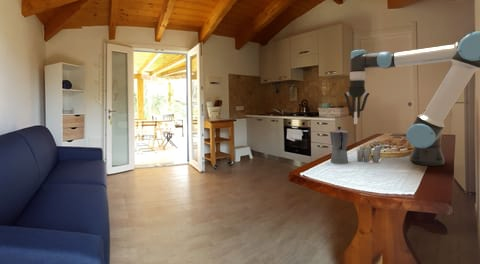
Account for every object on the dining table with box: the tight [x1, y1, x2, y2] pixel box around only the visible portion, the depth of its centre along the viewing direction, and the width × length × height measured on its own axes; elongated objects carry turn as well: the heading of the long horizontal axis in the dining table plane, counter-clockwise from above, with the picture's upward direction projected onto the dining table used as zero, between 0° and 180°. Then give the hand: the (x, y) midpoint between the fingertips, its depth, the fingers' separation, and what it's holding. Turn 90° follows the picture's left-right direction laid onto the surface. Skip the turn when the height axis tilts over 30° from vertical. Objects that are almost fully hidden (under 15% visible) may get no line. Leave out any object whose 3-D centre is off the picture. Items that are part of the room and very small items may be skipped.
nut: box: [363, 152, 373, 161], centre depth 159 cm, size 5×5×3 cm
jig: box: [356, 145, 382, 164], centre depth 159 cm, size 11×12×7 cm
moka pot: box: [329, 126, 349, 165], centre depth 156 cm, size 10×15×20 cm, turn 174°
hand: (355, 123), depth 160 cm, fingers closed
